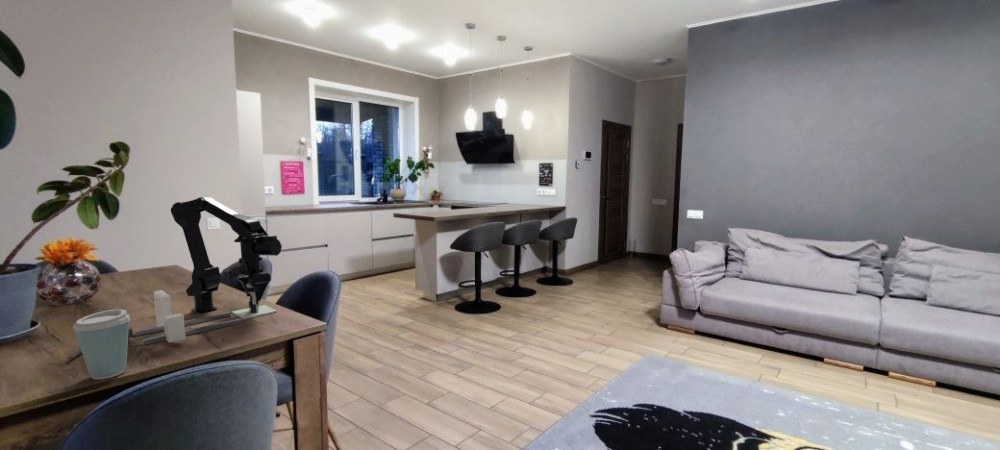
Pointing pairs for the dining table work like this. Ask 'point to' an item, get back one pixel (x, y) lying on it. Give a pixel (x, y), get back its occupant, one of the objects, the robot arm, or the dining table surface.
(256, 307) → the push button
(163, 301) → the frosted white block
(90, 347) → the disposable coffee cup
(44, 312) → the dining table surface
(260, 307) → the pad
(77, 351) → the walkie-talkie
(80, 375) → the dining table surface
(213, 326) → the tie rails
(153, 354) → the dining table surface
